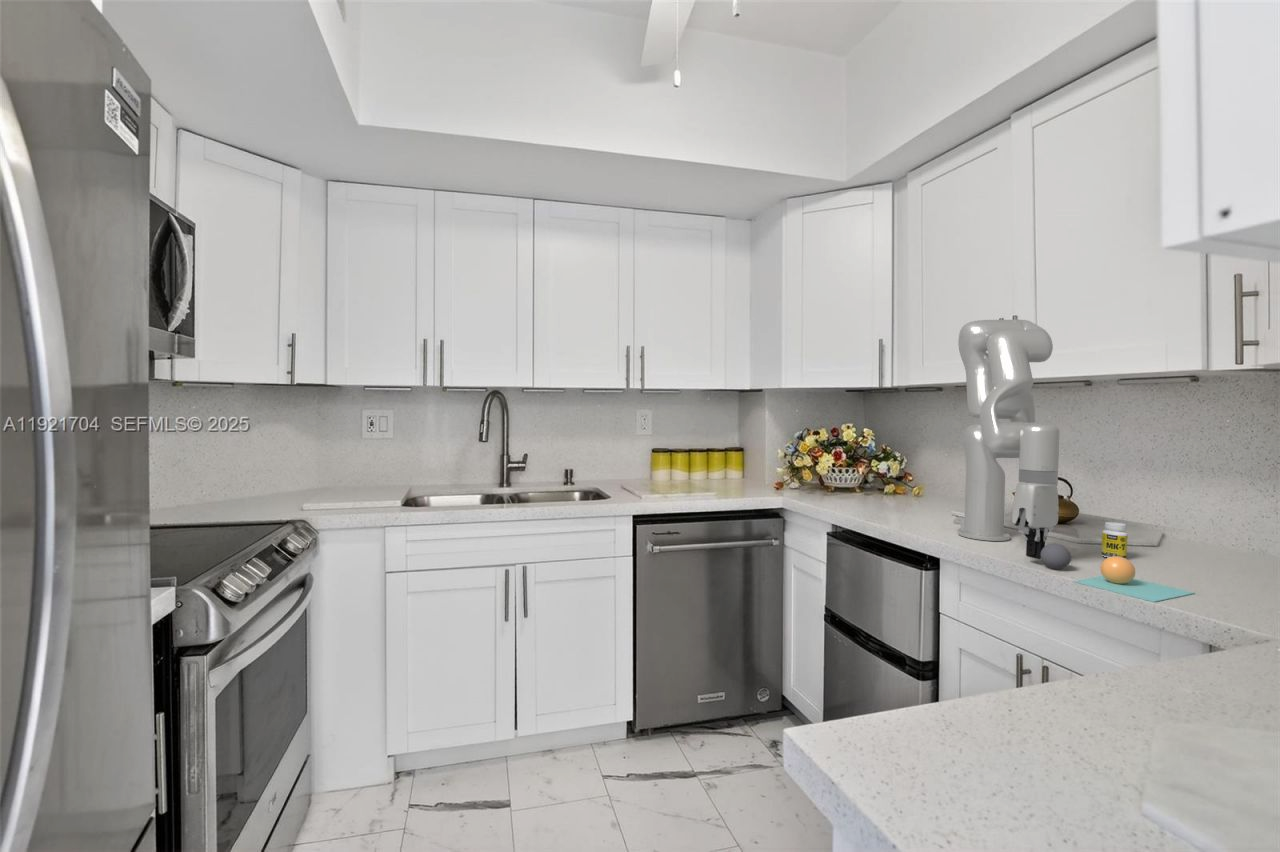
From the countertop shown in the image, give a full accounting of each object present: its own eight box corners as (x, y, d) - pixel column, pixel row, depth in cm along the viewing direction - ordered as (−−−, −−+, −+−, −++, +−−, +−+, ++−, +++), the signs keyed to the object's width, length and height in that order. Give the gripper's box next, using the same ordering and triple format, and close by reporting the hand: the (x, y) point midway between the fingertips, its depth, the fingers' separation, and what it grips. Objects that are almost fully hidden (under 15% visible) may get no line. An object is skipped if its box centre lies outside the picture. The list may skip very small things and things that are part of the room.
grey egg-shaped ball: (1056, 542, 131) (1063, 568, 130) (1072, 541, 133) (1080, 566, 132) (1031, 546, 136) (1038, 571, 135) (1047, 544, 138) (1055, 569, 137)
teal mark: (1074, 581, 124) (1074, 580, 124) (1114, 574, 130) (1114, 573, 130) (1154, 602, 111) (1154, 601, 111) (1195, 593, 117) (1195, 592, 117)
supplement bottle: (1103, 558, 144) (1104, 523, 144) (1099, 554, 148) (1100, 520, 148) (1128, 561, 142) (1130, 526, 141) (1123, 557, 146) (1125, 522, 145)
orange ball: (1111, 552, 122) (1132, 577, 118) (1127, 549, 124) (1148, 574, 120) (1088, 566, 125) (1108, 590, 122) (1104, 563, 128) (1124, 587, 124)
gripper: (1042, 475, 144) (1039, 551, 145) (1000, 477, 138) (997, 556, 139) (1075, 478, 137) (1072, 558, 138) (1033, 481, 131) (1030, 564, 132)
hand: (1035, 557), depth 138 cm, fingers closed
